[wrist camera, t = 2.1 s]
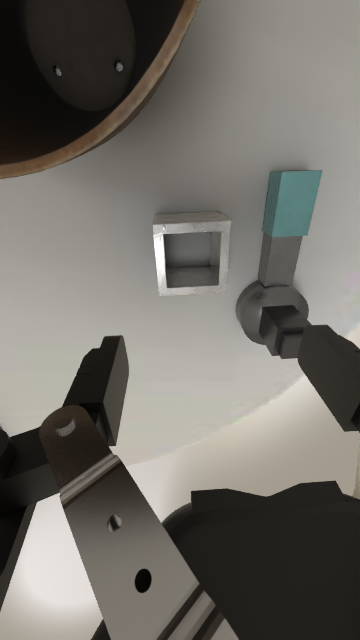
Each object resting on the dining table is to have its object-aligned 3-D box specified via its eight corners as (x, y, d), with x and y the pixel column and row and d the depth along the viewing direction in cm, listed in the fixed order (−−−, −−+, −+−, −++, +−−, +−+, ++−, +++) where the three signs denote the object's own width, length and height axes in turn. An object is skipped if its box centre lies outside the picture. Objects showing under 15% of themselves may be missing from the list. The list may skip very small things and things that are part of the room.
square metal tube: (154, 214, 23) (152, 224, 19) (218, 211, 23) (231, 220, 19) (160, 275, 26) (159, 296, 22) (216, 272, 26) (226, 292, 22)
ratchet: (248, 172, 21) (287, 175, 15) (327, 169, 22) (401, 169, 15) (233, 331, 30) (253, 378, 24) (289, 328, 31) (324, 374, 24)
